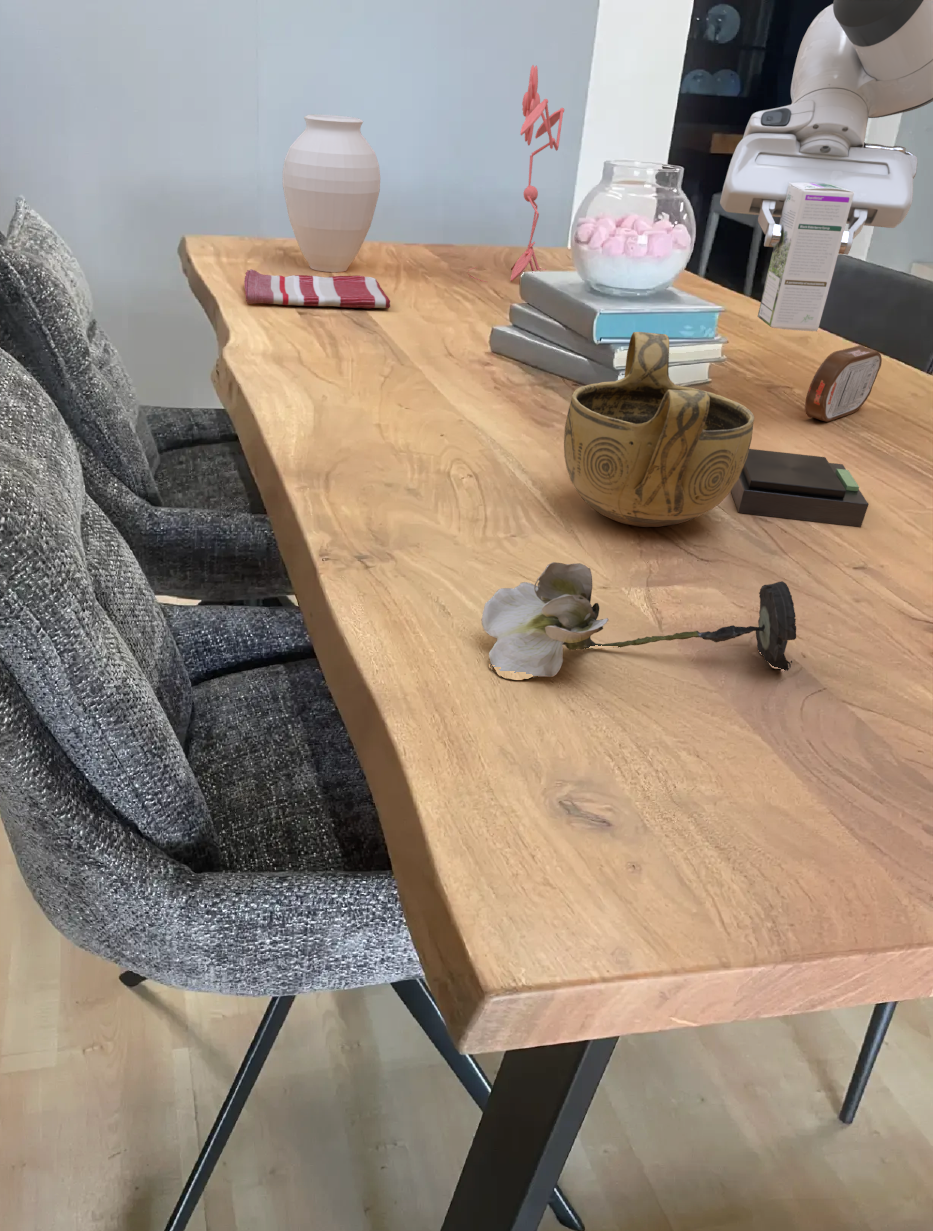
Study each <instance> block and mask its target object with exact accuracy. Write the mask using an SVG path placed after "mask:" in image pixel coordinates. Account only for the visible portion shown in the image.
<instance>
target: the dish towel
mask: <svg viewBox="0 0 933 1231" xmlns="http://www.w3.org/2000/svg"><path fill="white" fill-rule="evenodd" d="M243 283H244V286H243V287H244V292H245V293H244V294H245V302H247V304H252V305H253V304H254V305H255V304H265V305H266V304H268V305H280V306H304V307H339V308H353V309H390V308H391V299H390V298H389V297H388V295H387V294H386V293H385V291H384V290H383V288H382V287H381V285H380V283H379V281H378V280H377V279H376V278H375V277H371V276H363V275H333V276H324V277H323V276H320V275H319V276H318V275H307V274H295V275H294V274H293V275H288V276H285V275H284V276H283V275H272V274H262V273H260V272H258V271H257V270H255V269H252V268H251V269H247V270H246V272H245V275H244V281H243Z"/></svg>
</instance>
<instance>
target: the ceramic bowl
mask: <svg viewBox="0 0 933 1231" xmlns="http://www.w3.org/2000/svg"><path fill="white" fill-rule="evenodd" d="M669 363H670V338H669V336H668V335H667V334H665V333H657V332H656V333H655V332H645V331H633V332H632V334H631V335H630V339H629V343H628V347H627V352H626V358H625V368H624V377H623V378H620V379H618V380H614V381H601V382H597V383H590V384H587V385H582V386H580V387H577V388H576V389H575V390H574V391H573V393H572V395H571V399H570V403H569V406H568V410H567V415H566V420H565V424H564V432H563V433H564V434H563V436H564V437H563V454H564V455H563V457H564V462H565V467H566V471H567V474H568V476H569V479H570V481H571V484H572V485H573V487H574V489H575V490H576V492H577V493H578V494H579V496H580V497H581V498H582V499H583V501H584V502H585V503H586V504H587V505H588V506H590V508H592V509H593V510H595V511H596V512H597V513H599V514H600V515H602V516H604V517H606V518H608V519H610V520H613V521H615V522H617V523H621V524H623V525H628V526H633V527H639V528H640V527H641V528H661V527H666V526H673V525H677V524H678V525H679V524H682V523H685V522H688V521H692V520H694V519H697V518H698V517H701V516H702V515H704V514H706V513H707V512H709V511H711V510H713V509H714V508H715V507H718V505H720V504H721V502H722V501H724V500H725V499H726V498H727V496H728V495H729V494H730V493H731V489H732V488H733V486H734V485H735V483H736V482H737V480H738V479H739V476H740V474H741V471H742V469H743V466H744V464H745V461H746V459H747V456H748V452H749V449H751V448H750V447H751V443H752V440H753V430H754V423H755V415H754V414H753V412H752V411H751V410H750V409H749V408H747V407H746V406H745V405H743V404H742V403H740V402H738V401H736V400H733V399H730V398H728V397H725V396H723V395H720V394H717V393H714V392H710V391H706V390H702V389H698V388H693V387H689V386H683V385H678V384H675V383H674V382H673V381H672V380H671V377H670V373H669V372H670V370H669Z"/></svg>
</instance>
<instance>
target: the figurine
mask: <svg viewBox="0 0 933 1231" xmlns="http://www.w3.org/2000/svg"><path fill="white" fill-rule="evenodd" d="M538 69H539V68H538V66H537V65H534V64H532V65H531V67H530V73H529V78H528V79H529V80H528V87H527V91H526V92H525V93H524V94H523V98H522V103H521V105H522V109H521V110H522V115H523V117H525V119H524V122H523V124H522V126H521V129H520V134H519V135H520V136H523V135H524V142H525V143H527V146H530V145H531V144H532V139H533V134H534V127H535V125H534V124H535V123H536V122H537V121H538V120H539V118H541V119H542V123H541V124H540V126H539V127H538V129H537V131H536V132H535V136H534V138H535V139H538V138H540V137H541V136H542V135H544V134H545V133H546V134H547V135H548V143H545V144H543V146H541V147H539V148H537V149H536V150H534V151H533V152H531V154H530V155H529V168H528V172H529V173H528V185H527V186H526V188H524V190H523V198H524V200H525V201H526V202H528V203H530V204H531V206H532V208H533V211H534V214H533V219H532V226H531V230H530V237H529V241H528V244H527V249H526V250H525V251H524V252H523V253H522V254H521V255H520V256H519V258H518V259H517V260H516V261H515V263H514V264H513V265H512V267H511V268H510V270H511V276H510V280H509V281H510V282H511V283H512V282H513V281H514V280H516V279H517V278H518V277H519V276H521V274H522V273H523V272H524V271H525V269H527V267H528V265H529V266H530V268H531V272H532V271H535V272H536V271H537V270H540V271H541V270H544V271H546V270H547V268H541V267H539V266H540V265H539V263H538V260H537V256H536V254H535V250H534V245H535V244H536V242H535V241H533V237H534V234H535V230H536V227H537V224H538V220H539V216H540V213H539V211H538V204H537V203H536V200H537V199H538V196H539V193H538V192H539V191H538V189H537V187H536V186H534V185H532V173H533V161H534V156H536V155H537V154H539V153H540V152H541V151H543V150H544V149H546V148H548V147H549V148H550V150H552V149H553V148H554V150H555V151H556V152H557V151H558V150H559V146H560V139H561V130H562V124H563V117H564V112H565V108H564V107H560V108H559V109H558V110H556V111H554V112H552V114H550V112H549V106H548V104H549V100H548V98H544V99H543V101H541V96H540V94H539V92H538V88H539V75H538V74H539V70H538ZM544 111H545V112H544ZM557 123H558V129H557V135H556V139H555V138H554V137H553V135H552V128H553V127H554V126H555V125H556V124H557ZM532 241H533V242H532ZM532 259H533V260H532ZM477 268H478V267H477V266H476V267H475V266H474V267H472V268H470V269H468V271H467V272H469V271H471V270H473V269H477ZM467 275H468V278H472V279H474V280H478V281H481V282H483V283H484V282H485V283H487V280H482V279H479V278H477V277H474V276H472V275H471V274H469V273H467Z"/></svg>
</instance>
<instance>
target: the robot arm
mask: <svg viewBox="0 0 933 1231" xmlns="http://www.w3.org/2000/svg"><path fill="white" fill-rule="evenodd" d="M790 98H791V104H787V105H784V106H780V107H775V108H769V109H763V110H758V111H756V112H753V113H752V114H751V116H750V118H749V120H748V122H747V125H746V127H745V130H744V133H743V136H742V139H741V140H740V141H739V142H738V143H737V145H736V147H735V149H734V152H733V154H732V157H731V159H730V163H729V165H728V169H727V172H726V176H725V180H724V183H723V186H722V191H721V194H720V199H719V200H720V201H719V205H720V206H721V208H722V210H724V211H725V212H726V213H732V214H742V215H743V214H744V215H753V216H754V215H755V216H758V218H757V223H758V224H759V227H761V231H762V232H763V234H764V235H765V237H764V243H763V246H764V247H769V248H774V247H778V244H779V242H780V238H781V231H782V226H783V225H779V224H778V223H776V222H775V220H774V218H781V215H782V210H783V206H784V202H785V200H786V197H787V190H788V185H789V183H790V182H791V183H798V182H813V183H824V184H830V185H835V186H838V187H841V188H844V189H847V190H850V191H853V192H854V196H853V200H852V203H851V207H850V211H849V214H848V218H847V222H846V225H848V227H847V229H848V230H844V234H843V238H842V241H841V245H840V249H839V253H838V255H849V253H850V252H851V248H852V246H853V241H854V239H855V238H856V237H857V236H858V235H859V234H860V233H861V232H862V230H863V228H864V226H868V227H878V228H887V229H894V228H896V227H897V226H899V225H901V223H902V222H904V220H905V219H906V217H907V215H908V213H909V211H910V209H911V207H912V204H913V199H914V179H915V178H916V175H917V171H918V170H917V169H918V157H917V156H916V155H914V154H913V153H912V152H911V151H908V150H907V148H906V147H905V146H901V145H893V146H891V145H884V144H879V143H869V142H868V143H867V142H866V141H865V139H866V136H867V135H866V133H867V127H868V120H869V119H875V118H876V119H879V118H884V117H890V116H893V115H894V116H895V115H899V114H902V113H908V112H911V111H914V110H917V109H920V108H922V107H924V106H927V105H929V104H931V103H932V102H933V0H833V3H831V4H830V5H828V6H827V7H825V8H824V9H823V10H821V11H820V12H819V13H818V14H817V15H816V16H815V17H814V19H813V20H812V22H811V23H810V25H809V26H808V28H807V30H806V32H805V34H804V36H803V37H802V41H801V43H800V45H799V49H798V52H797V57H796V59H795V63H794V68H793V74H792V79H791V84H790Z"/></svg>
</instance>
